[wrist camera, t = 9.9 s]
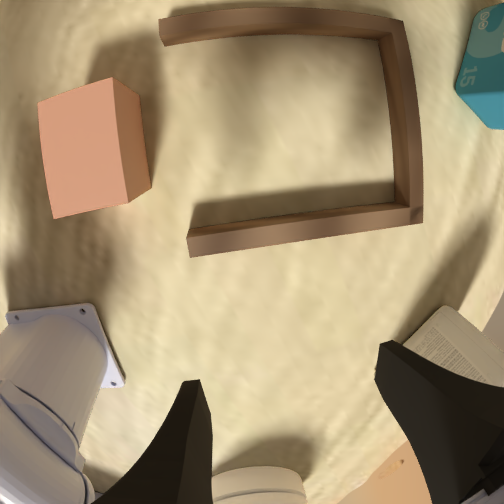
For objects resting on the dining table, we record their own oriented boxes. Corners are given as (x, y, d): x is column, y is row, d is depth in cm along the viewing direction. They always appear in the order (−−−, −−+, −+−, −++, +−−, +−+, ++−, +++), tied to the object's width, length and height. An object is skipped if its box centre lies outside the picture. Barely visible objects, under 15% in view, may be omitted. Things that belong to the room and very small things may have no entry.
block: (92, 200, 18) (53, 219, 13) (79, 111, 16) (37, 102, 11) (151, 187, 18) (128, 202, 13) (139, 95, 16) (112, 77, 11)
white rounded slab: (385, 390, 27) (442, 480, 15) (364, 374, 25) (426, 476, 14) (457, 318, 25) (536, 389, 13) (443, 295, 24) (535, 370, 12)
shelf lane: (192, 247, 20) (190, 257, 18) (163, 31, 15) (158, 19, 13) (407, 216, 21) (422, 223, 19) (388, 28, 16) (402, 20, 14)
